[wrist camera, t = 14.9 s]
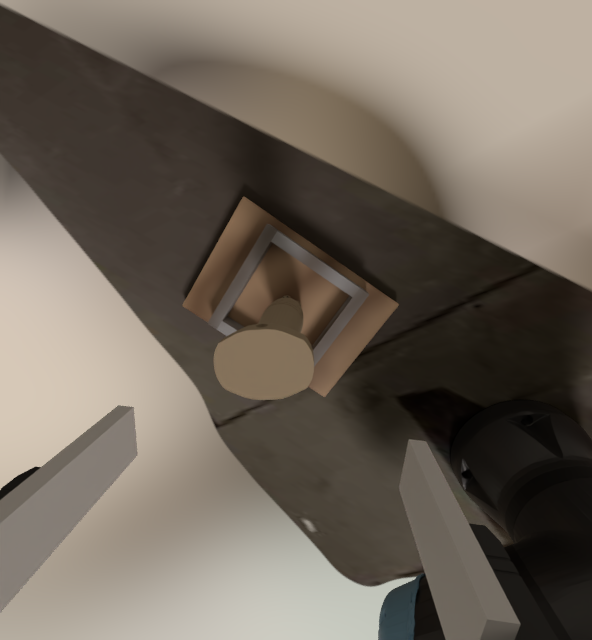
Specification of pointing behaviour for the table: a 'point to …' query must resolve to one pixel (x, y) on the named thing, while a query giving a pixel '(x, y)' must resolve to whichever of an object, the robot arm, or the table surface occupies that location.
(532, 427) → the robot arm
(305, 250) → the collar board
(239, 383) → the handle
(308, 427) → the table surface
